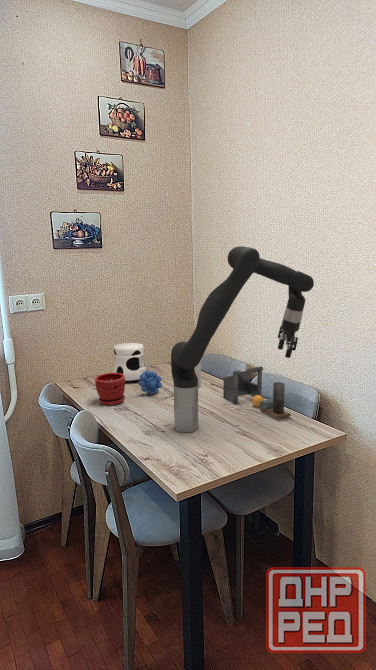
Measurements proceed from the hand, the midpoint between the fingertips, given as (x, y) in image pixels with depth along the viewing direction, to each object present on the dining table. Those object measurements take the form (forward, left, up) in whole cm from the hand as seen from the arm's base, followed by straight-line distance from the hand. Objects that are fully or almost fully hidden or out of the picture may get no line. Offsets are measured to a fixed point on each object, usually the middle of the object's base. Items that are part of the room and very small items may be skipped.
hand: (283, 353), depth 198 cm
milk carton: (+15, +43, -22) cm, 51 cm away
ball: (-9, +11, -19) cm, 24 cm away
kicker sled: (-18, +4, -21) cm, 28 cm away
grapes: (+1, +60, -22) cm, 64 cm away
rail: (-18, +4, -22) cm, 28 cm away
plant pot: (-10, +76, -22) cm, 80 cm away
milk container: (+25, +77, -22) cm, 84 cm away
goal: (+1, +18, -22) cm, 28 cm away
